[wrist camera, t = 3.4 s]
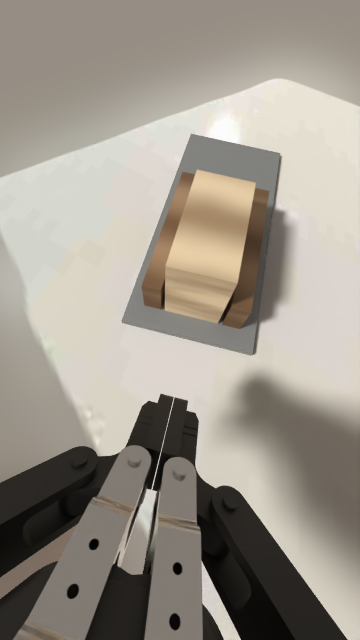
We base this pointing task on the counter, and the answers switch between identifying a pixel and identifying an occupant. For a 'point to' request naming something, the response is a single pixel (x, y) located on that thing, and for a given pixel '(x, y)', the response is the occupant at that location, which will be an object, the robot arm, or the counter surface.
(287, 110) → the counter surface
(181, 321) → the chute board
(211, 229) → the oak block
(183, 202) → the chute rails
